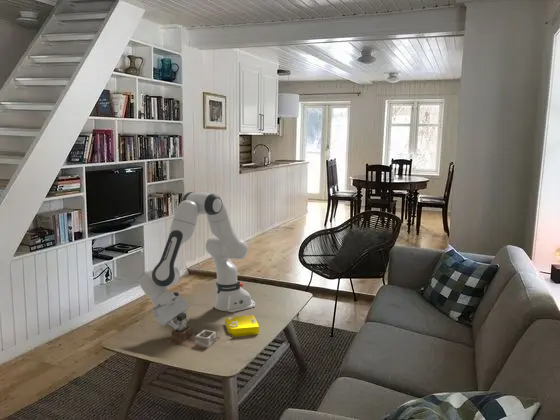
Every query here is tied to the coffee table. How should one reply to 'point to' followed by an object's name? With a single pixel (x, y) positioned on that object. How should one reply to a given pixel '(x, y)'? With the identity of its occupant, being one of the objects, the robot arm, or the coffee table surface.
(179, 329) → the brushed metal bar
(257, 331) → the element tile
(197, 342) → the caddy
